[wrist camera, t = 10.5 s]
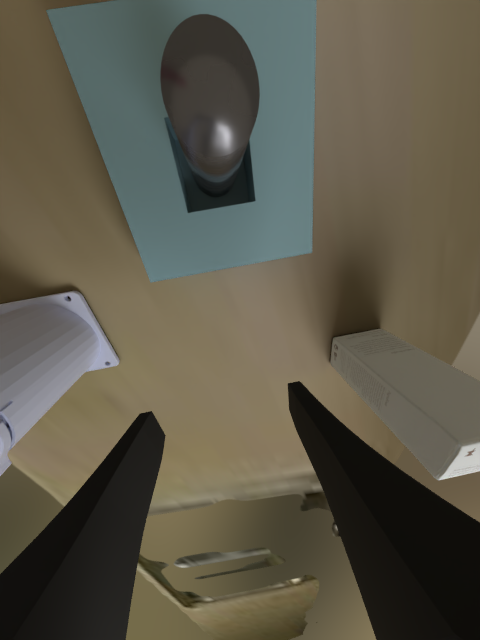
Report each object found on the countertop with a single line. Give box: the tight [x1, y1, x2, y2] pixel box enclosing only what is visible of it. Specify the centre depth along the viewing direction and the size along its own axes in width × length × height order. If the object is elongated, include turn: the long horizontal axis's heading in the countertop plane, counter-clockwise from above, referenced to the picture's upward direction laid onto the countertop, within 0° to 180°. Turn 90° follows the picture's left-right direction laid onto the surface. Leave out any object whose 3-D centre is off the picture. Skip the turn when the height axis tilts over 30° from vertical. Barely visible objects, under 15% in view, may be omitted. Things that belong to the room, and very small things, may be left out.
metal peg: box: [160, 14, 260, 197], centre depth 9 cm, size 3×3×8 cm
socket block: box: [46, 0, 316, 282], centre depth 12 cm, size 12×12×3 cm
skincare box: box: [330, 329, 480, 480], centre depth 16 cm, size 6×4×12 cm
